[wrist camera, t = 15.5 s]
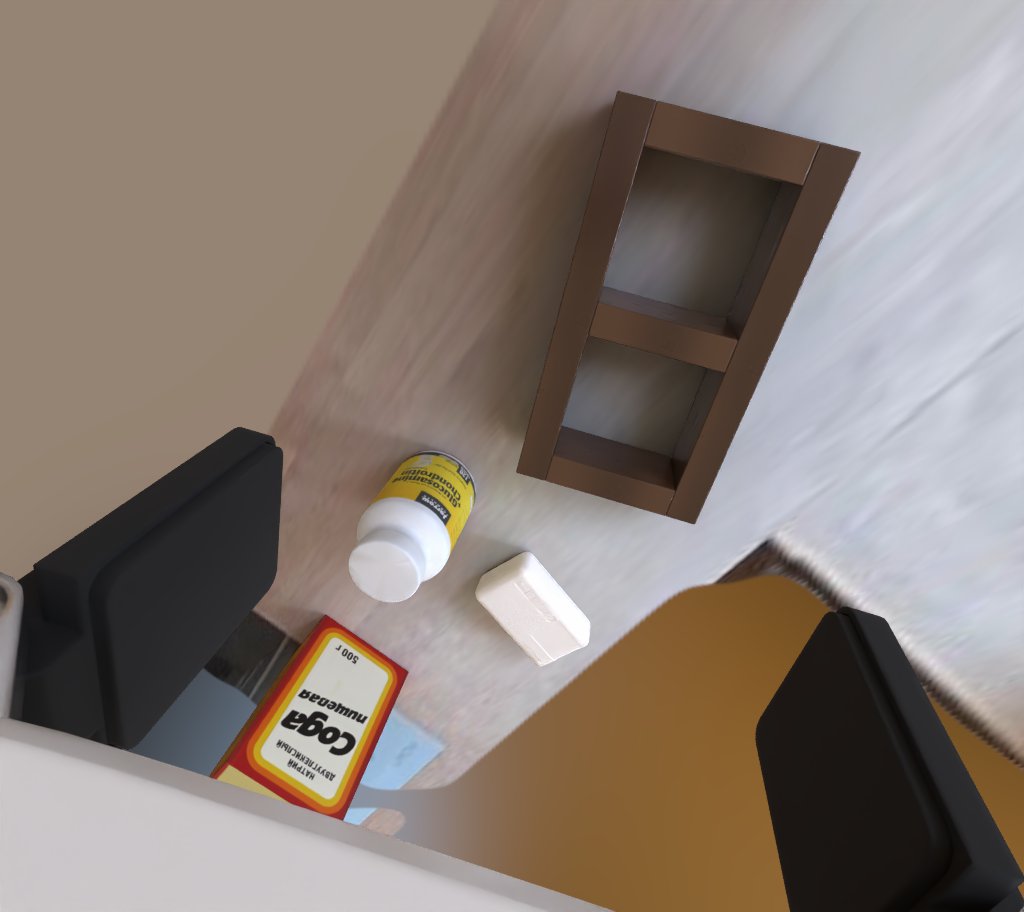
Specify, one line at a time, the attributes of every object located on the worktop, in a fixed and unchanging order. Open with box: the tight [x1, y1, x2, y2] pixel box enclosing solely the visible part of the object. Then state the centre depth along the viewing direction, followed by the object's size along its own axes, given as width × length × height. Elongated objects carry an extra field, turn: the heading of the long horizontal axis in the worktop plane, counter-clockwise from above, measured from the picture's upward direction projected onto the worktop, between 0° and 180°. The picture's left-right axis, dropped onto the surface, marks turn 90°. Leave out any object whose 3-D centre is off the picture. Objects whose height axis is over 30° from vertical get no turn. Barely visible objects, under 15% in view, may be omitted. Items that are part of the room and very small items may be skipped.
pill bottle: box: [348, 451, 476, 602], centre depth 43 cm, size 6×6×12 cm
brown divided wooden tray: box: [516, 91, 861, 524], centre depth 37 cm, size 12×22×5 cm, turn 167°
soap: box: [475, 551, 590, 666], centre depth 50 cm, size 9×6×3 cm, turn 39°
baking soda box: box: [209, 615, 408, 821], centre depth 52 cm, size 10×6×16 cm
